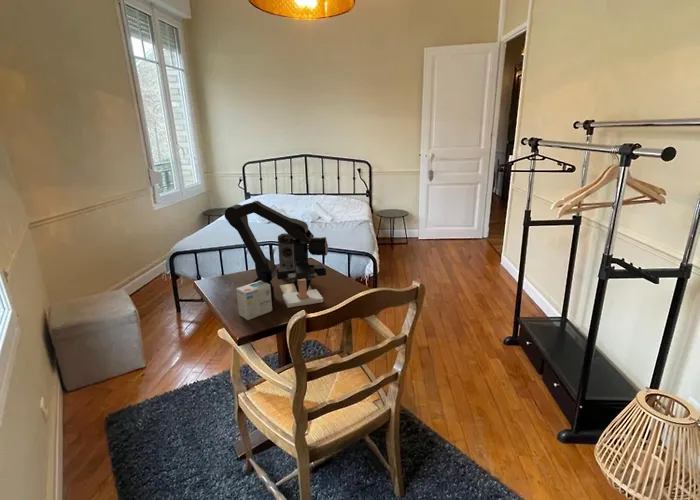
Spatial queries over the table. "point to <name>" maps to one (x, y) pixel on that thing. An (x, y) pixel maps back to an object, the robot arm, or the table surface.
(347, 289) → the table surface
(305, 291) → the plug
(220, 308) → the table surface
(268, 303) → the light bulb box
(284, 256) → the electronic device
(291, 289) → the pad
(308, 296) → the white slotted plate
